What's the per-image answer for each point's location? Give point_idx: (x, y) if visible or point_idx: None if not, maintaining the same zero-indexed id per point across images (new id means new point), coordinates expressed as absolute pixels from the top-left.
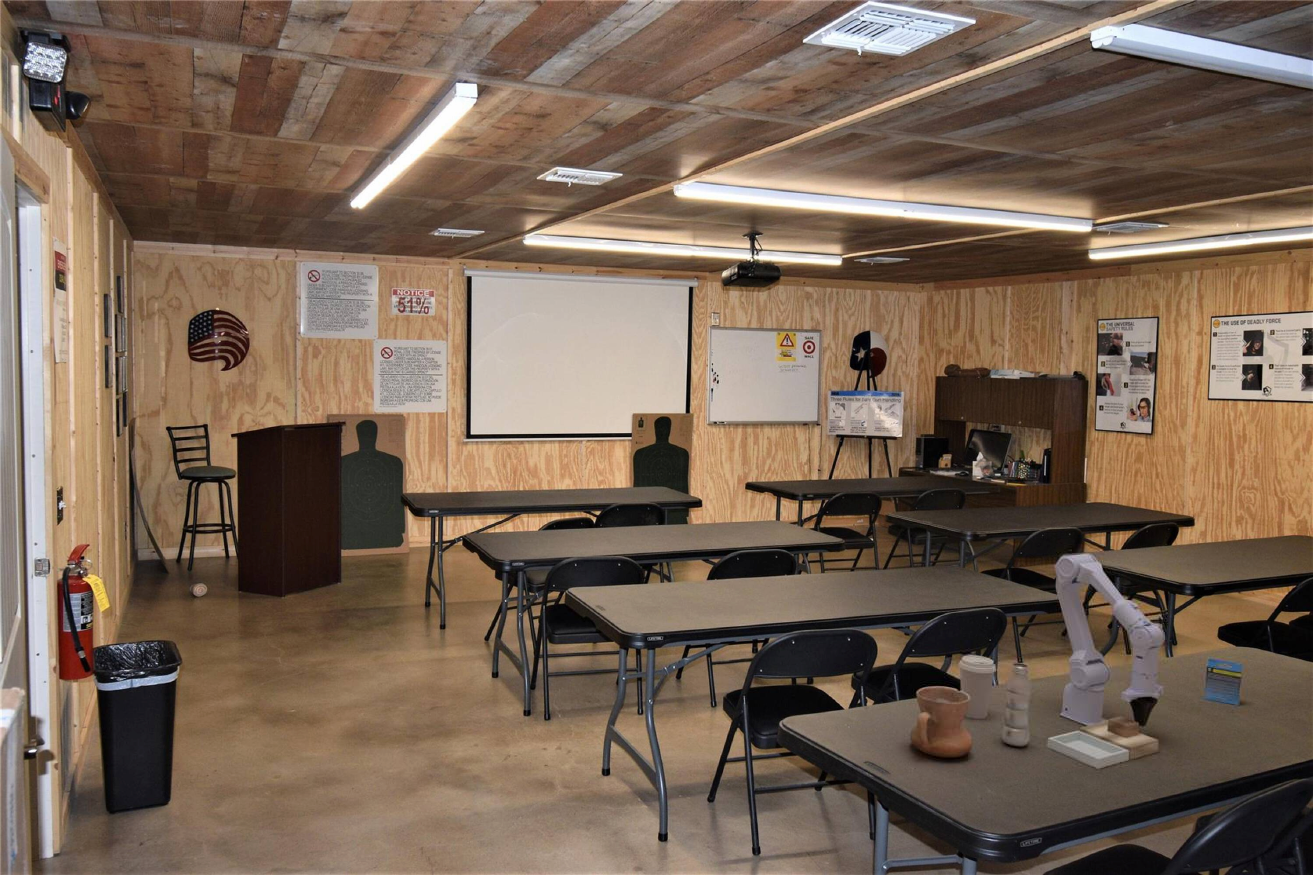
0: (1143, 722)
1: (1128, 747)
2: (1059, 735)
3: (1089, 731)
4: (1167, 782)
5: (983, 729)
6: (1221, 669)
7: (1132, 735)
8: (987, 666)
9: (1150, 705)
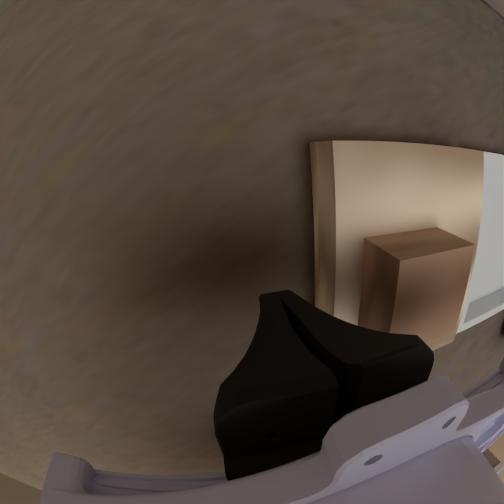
0: (298, 297)
1: (480, 161)
2: (500, 309)
3: (462, 311)
4: (460, 16)
5: (485, 375)
6: None
7: (402, 233)
8: (498, 475)
9: (315, 360)
